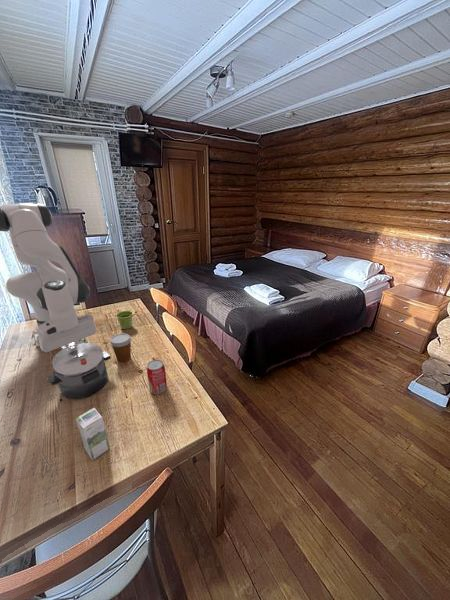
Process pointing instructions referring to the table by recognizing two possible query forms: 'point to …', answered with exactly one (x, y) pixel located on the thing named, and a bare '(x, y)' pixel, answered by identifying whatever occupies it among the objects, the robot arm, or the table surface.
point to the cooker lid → (77, 360)
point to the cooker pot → (82, 382)
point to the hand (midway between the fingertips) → (73, 350)
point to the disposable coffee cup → (121, 347)
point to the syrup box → (93, 433)
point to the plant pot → (125, 319)
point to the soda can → (156, 376)
